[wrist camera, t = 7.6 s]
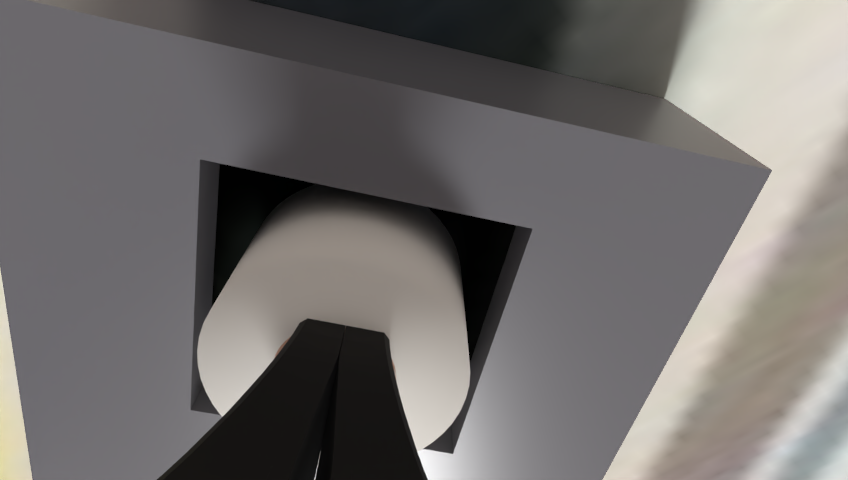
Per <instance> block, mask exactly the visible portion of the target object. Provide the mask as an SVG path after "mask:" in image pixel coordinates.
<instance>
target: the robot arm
mask: <svg viewBox="0 0 848 480" xmlns="http://www.w3.org/2000/svg"><path fill="white" fill-rule="evenodd" d="M345 327H346V329H345ZM344 332H345V333H344ZM319 456H320V457H319ZM318 461H319V462H318ZM317 466H318V467H317ZM316 470H317V472H316ZM315 475H316V478H315ZM314 479H315V480H428V479H427V476H426V474H425V471H424V469H423V466H422V463H421V460H420V458H419V455H418V452H417V449H416V446H415V443H414V440H413V437H412V434H411V431H410V428H409V425H408V421H407V418H406V415H405V412H404V409H403V405H402V402H401V398H400V394H399V390H398V386H397V382H396V378H395V373H394V369H393V364H392V358H391V351H390V340H389V338H388V337H387V336H386V334H385V333H384V332H379V331H373V330H368V329H362V328H357V327H352V326H346V325H341V324H336V323H330V322H325V321H319V320H314V319H309V318H307V319H306V320H304V321H302V322H300V323H299V325H298V326H297V328H296V330H295V331H294V333H293V334H292V336H291V337H290V338H289V340H288V341H287V343H286V344H285V345H284V347H283V348H282V349H281V351H280V352H279V353H278V355H277V356H276V357H275V358H274V360H273V361H272V362H271V363H270V364H269V366H268V367H267V368H266V369H265V371H264V372H263V373H262V374H261V375H260V376H259V377H258V379H257V380H256V381H255V382H254V383H253V384H252V385H251V386H250V388H249V389H248V390H247V391H246V392H245V393H244V394H243V395H242V396H241V398H240V399H239V400H238V401H237V402H236V403H235V404H234V405H233V406H232V407H231V409H230V410H229V411H228V412H227V413H226V414H225V415H224V416H223V417H222V418H221V419H220V420H219V421H218V422H217V423H216V424H215V425H214V426H213V427H212V428H211V429H210V430H209V431H208V432H207V433H206V434H205V435H204V436H203V437H202V438H201V439H200V440H199V441H198V442H197V443H196V444H195V445H193V446H192V447H191V448H190V449H189V450H188V451H187V452H186V453H185V454H184V455H183V456H182V457H181V458H180V459H179V460H178V461H177V462H176V463H175V464H173V465H172V466H171V467H170V468H169V469H168V470H167V471H166V472H165V473H164V474H163V475H161V476H160V477H159V478H158V479H157V480H314Z"/></svg>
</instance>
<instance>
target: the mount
mask: <svg viewBox="0 0 848 480" xmlns="http://www.w3.org/2000/svg"><path fill="white" fill-rule="evenodd" d="M220 164H225V165H230V166H234V167H239V168H244V169H249V170H253V171H258V172H263V173H268V174H273V175H277V176H282V177H287V178H292V179H297V180H301V181H306V182H311V183H316V184H321V185H325V186H330V187H335V188H340V189H345V190H349V191H354V192H359V193H364V194H368V195H373V196H378V197H383V198H388V199H392V200H397V201H402V202H407V203H412V204H416V205H421V206H426V207H431V208H436V209H440V210H445V211H450V212H455V213H460V214H464V215H469V216H474V217H479V218H483V219H488V220H493V221H498V222H503V223H507V224H512V225H516V228H515V231H514V234H513V237H512V240H511V243H510V246H509V249H508V252H507V255H506V258H505V261H504V264H503V267H502V270H501V273H500V276H499V279H498V282H497V285H496V288H495V291H494V294H493V296H492V299H491V302H490V305H489V308H488V311H487V314H486V317H485V320H484V323H483V326H482V329H481V332H480V335H479V338H478V341H477V344H476V347H475V350H474V353H473V356H472V359H471V362H470V383H469V389H468V393H467V396H466V400H465V402H464V404H463V406H462V409H461V411H460V412H459V414H458V416H457V417H456V419H455V420H454V422H453V423H452V424H451V425H450V426H449V428H448V429H447V430H446V431H445V432H444V433H443V434H442V435H441V436H440V437H438V438H437V439H436V440H435V441H434V442H432V443H431V444H429V445H428V446H426V447H425V448H423V449H422V450H420V451H418V455H419V458H420V460H421V463H422V466H423V469H424V471H425V474H426V476H427V479H428V480H602V479H603V477H604V476H605V474H606V472H607V470H608V468H609V467H610V465H611V463H612V461H613V459H614V457H615V456H616V454H617V452H618V450H619V448H620V446H621V445H622V443H623V441H624V439H625V437H626V436H627V434H628V432H629V430H630V428H631V426H632V425H633V423H634V421H635V419H636V417H637V416H638V414H639V412H640V410H641V408H642V406H643V405H644V403H645V401H646V399H647V397H648V395H649V394H650V392H651V390H652V388H653V386H654V385H655V383H656V381H657V379H658V377H659V375H660V374H661V372H662V370H663V368H664V366H665V364H666V363H667V361H668V359H669V357H670V355H671V354H672V352H673V350H674V348H675V346H676V344H677V343H678V341H679V339H680V337H681V335H682V334H683V332H684V330H685V328H686V326H687V324H688V323H689V321H690V319H691V317H692V315H693V313H694V312H695V310H696V308H697V306H698V304H699V303H700V301H701V299H702V297H703V295H704V293H705V292H706V290H707V288H708V286H709V284H710V283H711V281H712V279H713V277H714V275H715V273H716V272H717V270H718V268H719V266H720V264H721V262H722V261H723V259H724V257H725V255H726V253H727V252H728V250H729V248H730V246H731V244H732V242H733V241H734V239H735V237H736V235H737V233H738V232H739V230H740V228H741V226H742V224H743V222H744V221H745V219H746V217H747V215H748V213H749V211H750V210H751V208H752V206H753V204H754V202H755V201H756V199H757V197H758V195H759V193H760V191H761V190H762V188H763V186H764V184H765V182H766V181H767V179H768V177H769V175H770V173H771V171H772V170H771V169H769V168H768V167H766V166H765V165H763V164H762V163H760V162H759V161H757V160H756V159H754V158H753V157H751V156H750V155H748V154H747V153H745V152H744V151H742V150H741V149H739V148H738V147H736V146H735V145H733V144H732V143H730V142H729V141H727V140H726V139H724V138H723V137H721V136H720V135H718V134H717V133H715V132H714V131H712V130H711V129H710V128H708V127H707V126H705V125H704V124H702V123H701V122H699V121H698V120H696V119H695V118H693V117H692V116H690V115H689V114H687V113H686V112H684V111H683V110H681V109H680V108H678V107H677V106H675V105H674V104H672V103H671V102H669V101H668V100H666V99H664V98H660V97H656V96H651V95H647V94H643V93H639V92H634V91H630V90H626V89H622V88H618V87H613V86H609V85H605V84H601V83H596V82H592V81H588V80H584V79H580V78H575V77H571V76H567V75H563V74H558V73H554V72H550V71H546V70H542V69H537V68H533V67H529V66H525V65H520V64H516V63H512V62H508V61H504V60H499V59H495V58H491V57H487V56H482V55H478V54H474V53H470V52H466V51H461V50H457V49H453V48H449V47H444V46H440V45H436V44H432V43H428V42H423V41H419V40H415V39H411V38H406V37H402V36H398V35H394V34H390V33H385V32H381V31H377V30H373V29H368V28H364V27H360V26H356V25H352V24H347V23H343V22H339V21H335V20H330V19H326V18H322V17H318V16H314V15H309V14H305V13H301V12H297V11H292V10H288V9H284V8H280V7H276V6H271V5H267V4H263V3H259V2H255V1H250V0H0V268H1V275H2V281H3V288H4V294H5V301H6V307H7V314H8V321H9V327H10V334H11V340H12V347H13V353H14V360H15V366H16V373H17V380H18V386H19V393H20V399H21V406H22V412H23V419H24V426H25V432H26V439H27V445H28V452H29V458H30V465H31V471H32V478H33V480H157V479H158V478H159V477H160V476H161V475H163V474H164V473H165V472H166V471H167V470H168V469H169V468H170V467H171V466H172V465H173V464H175V463H176V462H177V461H178V460H179V459H180V458H181V457H182V456H183V455H184V454H185V453H186V452H187V451H188V450H189V449H190V448H191V447H192V446H193V445H195V444H196V443H197V442H198V441H199V440H200V439H201V438H202V437H203V436H204V435H205V434H206V433H207V432H208V431H209V430H210V429H211V428H212V427H213V426H214V425H215V424H216V423H217V422H218V421H219V420H220V419H221V418H222V416H221V415H220V413H219V412H218V411H217V409H216V408H215V407H214V405H213V404H212V402H211V400H210V399H209V397H208V395H207V393H206V391H205V389H204V386H203V383H202V381H201V378H200V373H199V368H198V359H197V348H198V341H199V335H200V332H201V329H202V326H203V323H204V321H205V319H206V317H207V315H208V313H209V312H210V310H211V308H212V293H213V276H214V258H215V240H216V222H217V204H218V186H219V168H220ZM316 472H317V470H316ZM315 478H316V475H315ZM314 480H315V479H314Z"/></svg>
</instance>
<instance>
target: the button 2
mask: <svg viewBox="0 0 848 480" xmlns="http://www.w3.org/2000/svg"><path fill="white" fill-rule="evenodd" d="M307 318H309V319H314V320H319V321H325V322H330V323H336V324H341V325H346V326H352V327H357V328H362V329H368V330H373V331H379V332H384V333H385V334H386V336H387V337H388V338H389V340H390V351H391V358H392V364H393V369H394V373H395V378H396V382H397V386H398V390H399V394H400V398H401V402H402V405H403V409H404V412H405V415H406V418H407V421H408V425H409V428H410V431H411V434H412V437H413V440H414V443H415V446H416V449H417V452H418V451H420V450H422V449H423V448H425V447H426V446H428V445H429V444H431V443H432V442H434V441H435V440H436V439H437V438H438V437H440V436H441V435H442V434H443V433H444V432H445V431H446V430H447V429H448V428H449V426H450V425H451V424H452V423H453V422H454V420H455V419H456V417H457V416H458V414H459V412H460V411H461V409H462V406H463V404H464V402H465V400H466V396H467V393H468V389H469V383H470V362H469V351H468V340H467V329H466V318H465V308H464V297H463V286H462V275H461V265H460V259H459V255H458V251H457V248H456V246H455V244H454V241H453V239H452V237H451V235H450V234H449V232H448V230H447V229H446V227H445V226H444V225H443V223H442V222H441V221H440V220H439V218H438V217H437V216H436V215H435V214H434V213H433V212H432V211H431V210H430V209H429V208H428V207H426V206H421V205H416V204H412V203H407V202H402V201H397V200H392V199H388V198H383V197H378V196H373V195H368V194H364V193H359V192H354V191H349V190H345V189H340V188H335V187H330V186H325V185H321V184H315V185H312V186H310V187H307V188H304V189H302V190H300V191H298V192H296V193H294V194H292V195H291V196H289V197H288V198H286V199H285V200H284V201H282V202H281V203H279V204H278V205H277V206H276V207H275V208H274V209H273V210H272V211H271V212H270V213H269V215H268V216H267V217H266V219H265V220H264V221H263V223H262V224H261V226H260V228H259V229H258V231H257V233H256V234H255V236H254V238H253V239H252V241H251V243H250V244H249V246H248V248H247V249H246V251H245V253H244V254H243V256H242V258H241V259H240V261H239V263H238V264H237V266H236V268H235V270H234V271H233V273H232V275H231V276H230V278H229V280H228V281H227V283H226V285H225V286H224V288H223V290H222V291H221V293H220V295H219V296H218V298H217V300H216V301H215V303H214V305H213V306H212V308H211V310H210V312H209V313H208V315H207V317H206V319H205V321H204V323H203V326H202V329H201V332H200V335H199V341H198V348H197V359H198V368H199V373H200V378H201V381H202V383H203V386H204V389H205V391H206V393H207V395H208V397H209V399H210V400H211V402H212V404H213V405H214V407H215V408H216V409H217V411H218V412H219V413H220V415H221V416H222V417H223V416H224V415H225V414H226V413H227V412H228V411H229V410H230V409H231V407H232V406H233V405H234V404H235V403H236V402H237V401H238V400H239V399H240V398H241V396H242V395H243V394H244V393H245V392H246V391H247V390H248V389H249V388H250V386H251V385H252V384H253V383H254V382H255V381H256V380H257V379H258V377H259V376H260V375H261V374H262V373H263V372H264V371H265V369H266V368H267V367H268V366H269V364H270V363H271V362H272V361H273V360H274V358H275V357H276V356H277V355H278V353H279V352H280V351H281V349H282V348H283V347H284V345H285V344H286V343H287V341H288V340H289V338H290V337H291V336H292V334H293V333H294V331H295V330H296V328H297V326H298V325H299V323H300V322H302V321H304V320H306V319H307ZM345 329H346V327H345ZM344 333H345V332H344ZM319 457H320V456H319ZM318 462H319V461H318ZM317 467H318V466H317Z"/></svg>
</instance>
